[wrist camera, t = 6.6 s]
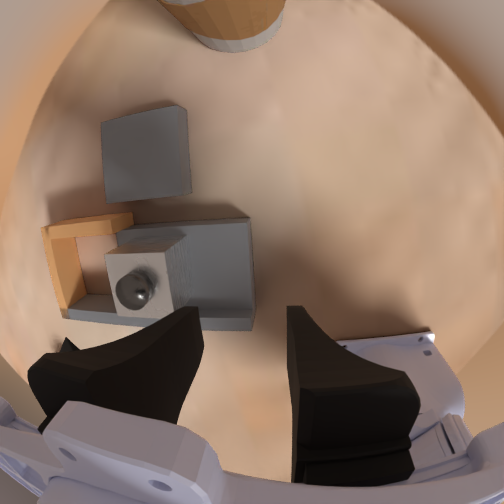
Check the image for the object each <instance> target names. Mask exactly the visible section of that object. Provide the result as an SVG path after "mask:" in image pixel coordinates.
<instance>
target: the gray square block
mask: <svg viewBox="0 0 504 504" xmlns="http://www.w3.org/2000/svg"><path fill="white" fill-rule="evenodd" d="M101 141H102V160H103V174H104V185H105V195H106V204H110V203H118V202H126V201H134V200H143V199H152V198H161V197H171V196H182V195H186V194H189V193H192V186H191V174H190V160H189V144H188V126H187V110H185V109H184V108H182V107H180V106H178V105H174V106H169V107H164V108H159V109H154V110H149V111H145V112H140V113H136V114H132V115H128V116H124V117H120V118H116V119H112V120H109V121H105V122H102V123H101Z"/></svg>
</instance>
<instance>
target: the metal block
mask: <svg viewBox="0 0 504 504" xmlns="http://www.w3.org/2000/svg"><path fill="white" fill-rule="evenodd" d="M104 257H105V262H106V267H107V272H108V277H109V281H110V286H111V290H112V295H113V299H114V303H115V307H116V311H117V315H118V316H126V317H140V318H156V319H162V318H163V317H165V316H167V315H169V314H170V313H172V312H174V311H176V310H177V309H179V308H181V307H184V306H185V305H186V303H187V302H188V300H189V299H190V297H191V296H192V294H193V293H194V286H193V279H192V272H191V264H190V256H189V247H188V239H187V235H181V236H162V237H143V238H133V239H132V240H130V241H128V242H126V243H124V244H122V245H120V246H119V247H117V248H115V249H113V250H111V251H109V252H108V253H106V254H104Z"/></svg>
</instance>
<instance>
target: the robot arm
mask: <svg viewBox="0 0 504 504" xmlns="http://www.w3.org/2000/svg"><path fill="white" fill-rule="evenodd" d="M420 337H421V339H419V338H420ZM434 337H435V335H434V333H433V332H432V331H429V332H422V333H414V334H406V335H398V336H389V337H379V338H369V339H357V340H343V341H336V342H335V341H334V340H332V339H331V338H330V337H329V336H328V335H327V334H326V333H325V332H324V331H323V330H322V329H321V328H320V327H319V326H318V325H317V324H316V323H315V322H314V321H313V319H312V318H311V317H310V316H309V314H308V313H307V311H306V310H305V308H304V307H303V306H287V370H288V379H289V387H290V395H291V404H292V474H291V483H288V482H281V481H274V480H268V479H262V478H257V477H252V476H247V475H242V474H237V473H233V472H229V471H224V470H222V468H221V466H220V463H219V460H218V456H217V454H216V452H215V451H214V450H213V448H212V447H211V446H210V444H209V443H208V442H207V441H206V440H205V439H204V438H203V437H201V436H199V435H197V434H196V433H194V432H192V431H191V430H189V429H188V428H186V427H182V426H179V425H177V421H178V417H179V414H180V410H181V408H182V405H183V402H184V400H185V398H186V395H187V393H188V391H189V388H190V386H191V384H192V382H193V379H194V377H195V375H196V372H197V370H198V368H199V365H200V362H201V358H202V354H203V350H204V341H203V335H202V329H201V323H200V317H199V310H198V306H184V307H181V308H179V309H177V310H176V311H174V312H172V313H170V314H169V315H167V316H165V317H163V318H162V319H160V320H158V321H156V322H155V323H153V324H151V325H149V326H147V327H145V328H143V329H142V330H140V331H138V332H136V333H134V334H131V335H129V336H127V337H124V338H122V339H119V340H116V341H114V342H110V343H107V344H103V345H100V346H97V347H93V348H88V349H83V350H77V351H70V352H59V353H46V354H44V355H43V356H42V357H41V358H40V359H39V360H38V361H36V362H35V363H34V364H33V365H32V366H31V367H30V368H29V370H28V381H29V385H30V387H31V389H32V392H33V393H34V395H35V397H36V399H37V400H38V402H39V403H40V405H41V407H42V409H43V410H44V412H45V414H46V415H47V417H46V419H45V420H44V421H43V422H42V423H41V425H40V426H39V427H37V426H35V425H33V424H31V423H29V422H28V421H26V420H24V419H22V418H20V417H19V416H17V415H16V413H15V411H14V409H13V408H12V407H11V405H10V404H9V402H8V401H7V400H5V399H4V398H2V397H1V396H0V468H1V469H2V470H4V471H5V472H6V473H8V474H9V475H10V476H11V477H12V478H14V479H15V480H16V481H18V482H19V483H20V484H22V485H23V486H24V487H26V488H27V489H28V490H30V491H31V492H33V493H34V494H35V495H37V496H38V497H40V498H39V500H38V502H37V503H36V504H500V503H502V502H503V501H504V422H502V423H500V424H498V425H496V426H494V427H491V428H489V429H487V430H484V431H482V432H480V433H479V434H477V435H476V436H475V437H474V438H473V436H472V435H471V433H470V431H469V429H468V427H467V426H466V424H465V423H464V421H463V416H464V410H465V400H464V393H463V389H462V386H461V384H460V382H459V380H458V378H457V377H456V375H455V374H454V372H453V371H452V369H451V368H450V366H449V365H448V363H447V362H446V361H445V359H444V358H443V356H442V355H441V354H440V352H439V351H438V349H437V348H436V347H435V345H434V344H433V341H434ZM418 339H419V340H418ZM344 345H347V346H346V347H342V346H344Z"/></svg>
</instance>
